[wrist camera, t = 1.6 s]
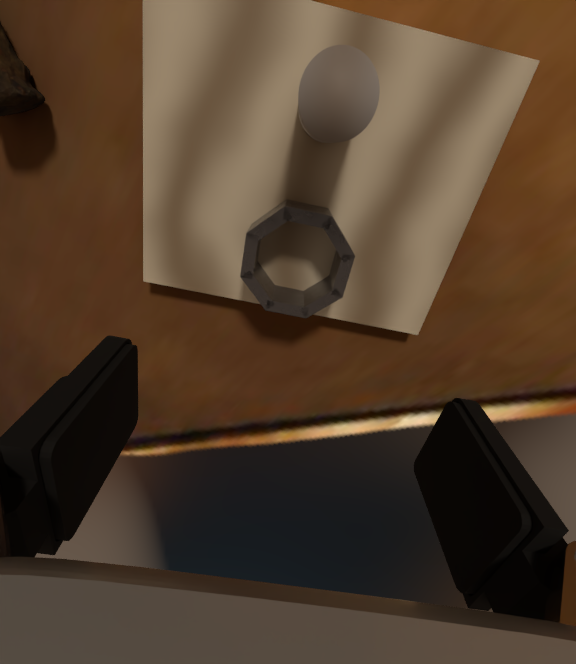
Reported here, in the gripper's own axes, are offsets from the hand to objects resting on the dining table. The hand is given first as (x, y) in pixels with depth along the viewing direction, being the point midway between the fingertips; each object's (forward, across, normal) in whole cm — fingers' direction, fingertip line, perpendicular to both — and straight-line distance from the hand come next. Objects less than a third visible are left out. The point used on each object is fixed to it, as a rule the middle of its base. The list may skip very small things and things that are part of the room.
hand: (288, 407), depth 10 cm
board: (+18, 0, -5) cm, 19 cm away
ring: (+16, 0, 0) cm, 17 cm away
